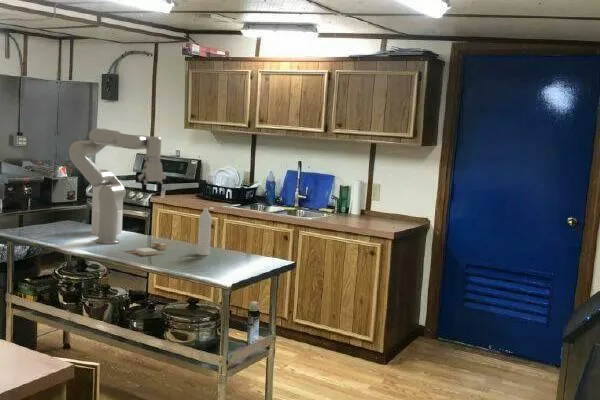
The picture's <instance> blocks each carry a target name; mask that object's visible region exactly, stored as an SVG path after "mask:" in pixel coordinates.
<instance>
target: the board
mask: <svg viewBox="0 0 600 400" xmlns="http://www.w3.org/2000/svg"><path fill="white" fill-rule="evenodd" d="M123 252H124V253H127V254H130V255H133V256H136V257H139V258H147V257H157V256H164V255H165V253H162V252H159V251H158V254H155V255H146V256H143V255H140V254H137V253H135V249H132V250H124V251H123Z"/></svg>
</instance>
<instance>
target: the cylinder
mask: <svg viewBox="0 0 600 400" xmlns="http://www.w3.org/2000/svg"><path fill="white" fill-rule="evenodd" d="M101 188H102V187H93V186H92V197H91V198H92V199H91V200H92V202H91V207H92V208H91V228H90V229H91V230H90V231H91V232H90V233H91V234H92V235H95V234H98V233H99V210H100V206H99V197H98V193H99V190H100V189H101ZM116 204H117V209H118V214H117V236H120V235H122V234H123V215H124V214H123V210H124V198H123V199H122V200H119V201H116ZM121 233H122V234H121ZM119 234H120V235H119Z"/></svg>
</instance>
